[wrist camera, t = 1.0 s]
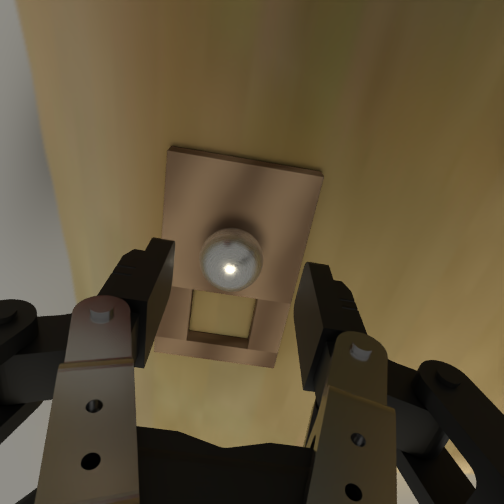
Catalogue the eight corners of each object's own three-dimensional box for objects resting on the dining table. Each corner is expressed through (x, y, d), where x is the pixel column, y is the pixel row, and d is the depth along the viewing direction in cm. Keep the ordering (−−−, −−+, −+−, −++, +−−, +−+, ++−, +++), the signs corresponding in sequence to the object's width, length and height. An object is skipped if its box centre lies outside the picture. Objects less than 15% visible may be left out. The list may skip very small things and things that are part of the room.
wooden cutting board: (321, 171, 31) (323, 177, 30) (273, 357, 40) (273, 368, 39) (171, 145, 30) (167, 150, 29) (157, 341, 40) (154, 351, 38)
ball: (268, 223, 32) (269, 251, 27) (257, 274, 34) (257, 308, 30) (207, 213, 31) (198, 240, 27) (200, 266, 34) (191, 299, 29)
